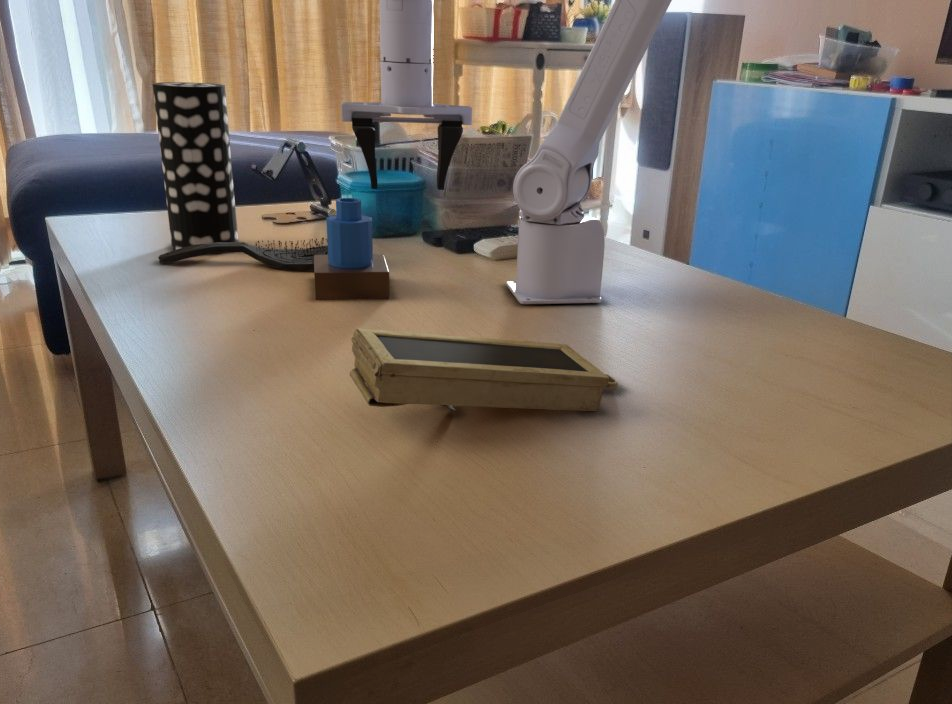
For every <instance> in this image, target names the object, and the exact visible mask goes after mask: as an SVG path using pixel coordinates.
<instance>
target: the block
mask: <svg viewBox="0 0 952 704" xmlns="http://www.w3.org/2000/svg"><path fill="white" fill-rule="evenodd" d="M313 275H314V277H313V278H314V295H315V300H317V301H318V300H363V299H364V300H365V299H390V297H391V296H390V270H389V267H388V264H387V261H386V258H385V255H384V253H373V263H372V265H370V266H367V267H363V268H352V269H349V268H338V267H334V266H331V265H329V263H328V255H314V270H313Z"/></svg>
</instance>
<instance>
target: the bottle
mask: <svg viewBox="0 0 952 704" xmlns="http://www.w3.org/2000/svg"><path fill="white" fill-rule="evenodd" d="M335 212H336V213H335V214H333V215H329V216H327V217H326V218H325V219H326V239H327V241H326V244H327V245H328V263H329V265H331V266H334V267H338V268H349V269H352V268H363V267H367V266H370V265H372V263H373V254H374V251H373V250H374V249H373V248H374V246H373V245H374V244H373V219H372V217H370V216H369V215H364V214H363V213H362V199H360V198H355V197H340V198H336V199H335Z"/></svg>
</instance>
